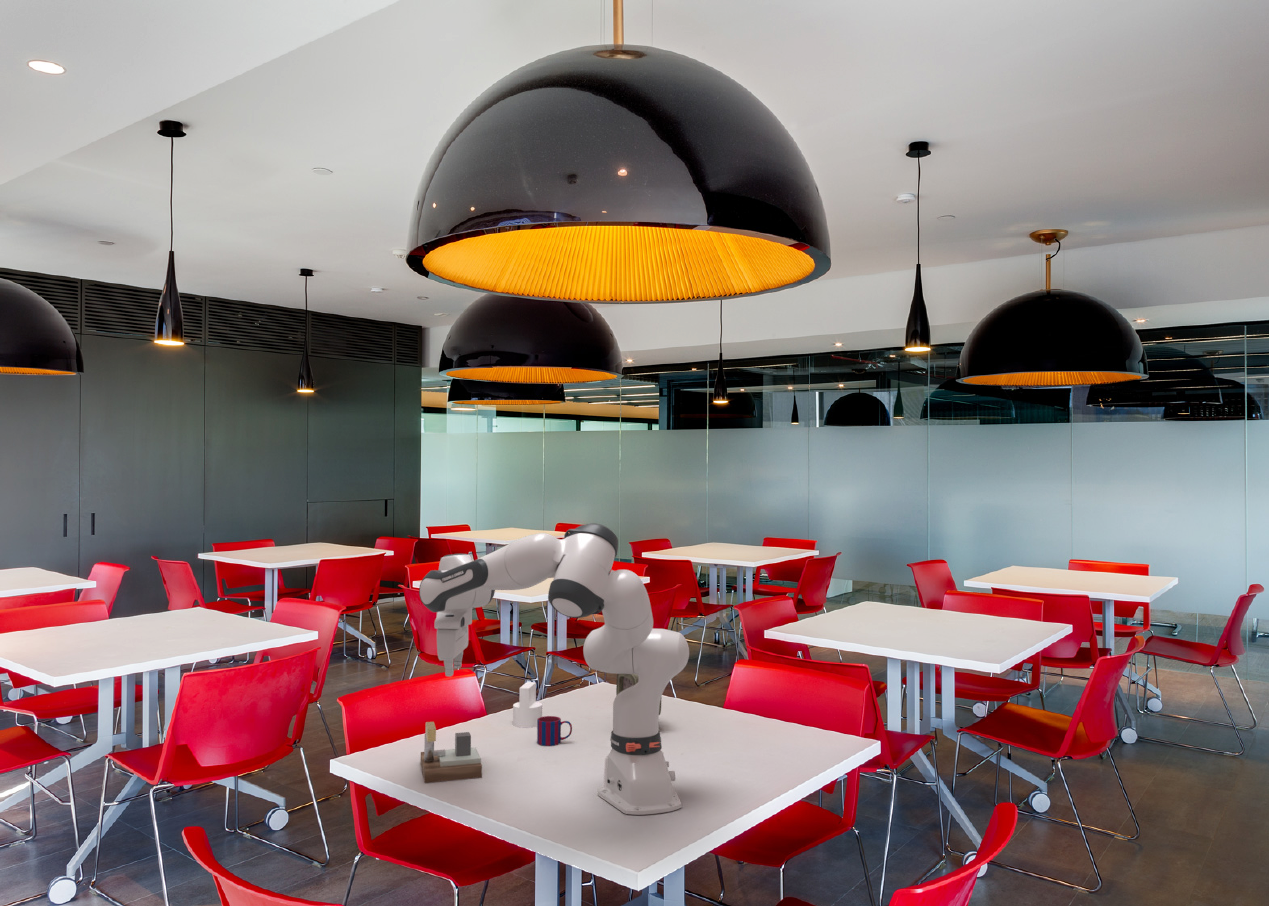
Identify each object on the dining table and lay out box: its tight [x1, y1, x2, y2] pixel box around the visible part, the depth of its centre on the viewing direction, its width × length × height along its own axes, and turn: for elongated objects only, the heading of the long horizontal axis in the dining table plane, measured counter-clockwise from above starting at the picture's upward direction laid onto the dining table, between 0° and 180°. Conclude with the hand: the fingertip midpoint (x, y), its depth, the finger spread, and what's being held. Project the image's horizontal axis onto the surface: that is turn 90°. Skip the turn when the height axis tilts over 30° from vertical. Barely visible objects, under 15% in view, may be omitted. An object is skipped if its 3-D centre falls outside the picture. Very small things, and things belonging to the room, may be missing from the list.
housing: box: [420, 751, 483, 784], centre depth 219 cm, size 16×14×3 cm
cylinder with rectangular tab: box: [512, 681, 543, 729], centre depth 265 cm, size 9×9×12 cm
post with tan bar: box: [423, 721, 446, 762], centre depth 215 cm, size 8×5×10 cm, turn 18°
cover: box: [438, 731, 482, 767], centre depth 219 cm, size 10×10×6 cm
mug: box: [536, 715, 573, 747], centre depth 244 cm, size 7×10×7 cm
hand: (453, 671), depth 216 cm, fingers open, 8 cm apart
